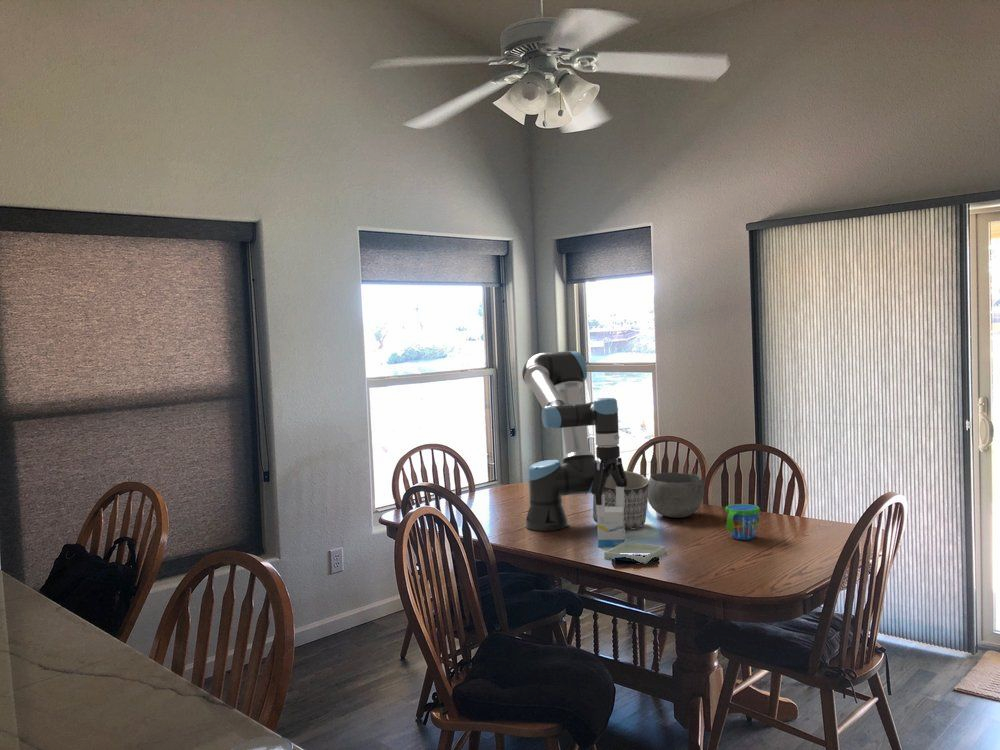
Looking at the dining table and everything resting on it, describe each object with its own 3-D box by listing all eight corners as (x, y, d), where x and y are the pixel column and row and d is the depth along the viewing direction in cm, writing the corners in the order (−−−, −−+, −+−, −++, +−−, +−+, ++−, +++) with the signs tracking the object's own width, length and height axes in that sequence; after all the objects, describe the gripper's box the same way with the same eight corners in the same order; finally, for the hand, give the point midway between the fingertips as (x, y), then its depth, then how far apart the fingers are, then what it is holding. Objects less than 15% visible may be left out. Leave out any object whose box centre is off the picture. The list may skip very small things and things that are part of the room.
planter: (633, 539, 280) (635, 493, 276) (582, 526, 290) (584, 482, 286) (654, 520, 296) (657, 476, 292) (605, 509, 306) (607, 466, 302)
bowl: (642, 521, 298) (640, 480, 297) (654, 509, 317) (652, 470, 316) (700, 524, 290) (698, 482, 289) (708, 511, 309) (707, 471, 308)
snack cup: (746, 530, 278) (745, 500, 278) (772, 536, 269) (771, 505, 269) (714, 539, 269) (713, 508, 269) (740, 545, 261) (739, 513, 260)
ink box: (624, 547, 265) (622, 511, 264) (597, 547, 267) (596, 512, 266) (625, 540, 273) (624, 506, 273) (599, 540, 275) (598, 506, 274)
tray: (604, 558, 253) (604, 552, 253) (625, 547, 265) (625, 541, 265) (646, 564, 245) (645, 557, 245) (665, 552, 256) (665, 546, 256)
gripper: (599, 451, 256) (602, 519, 257) (635, 441, 276) (638, 504, 277) (578, 450, 260) (581, 517, 261) (615, 440, 280) (618, 502, 281)
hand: (610, 510), depth 269 cm, fingers open, 13 cm apart
